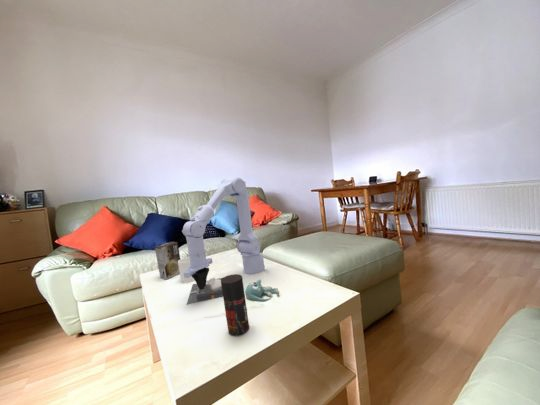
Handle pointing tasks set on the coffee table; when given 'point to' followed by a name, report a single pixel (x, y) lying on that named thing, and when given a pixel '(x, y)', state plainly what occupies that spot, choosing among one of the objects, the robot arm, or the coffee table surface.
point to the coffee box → (168, 259)
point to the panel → (203, 294)
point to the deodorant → (235, 304)
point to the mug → (184, 269)
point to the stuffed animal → (259, 291)
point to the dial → (212, 285)
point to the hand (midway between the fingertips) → (202, 288)
